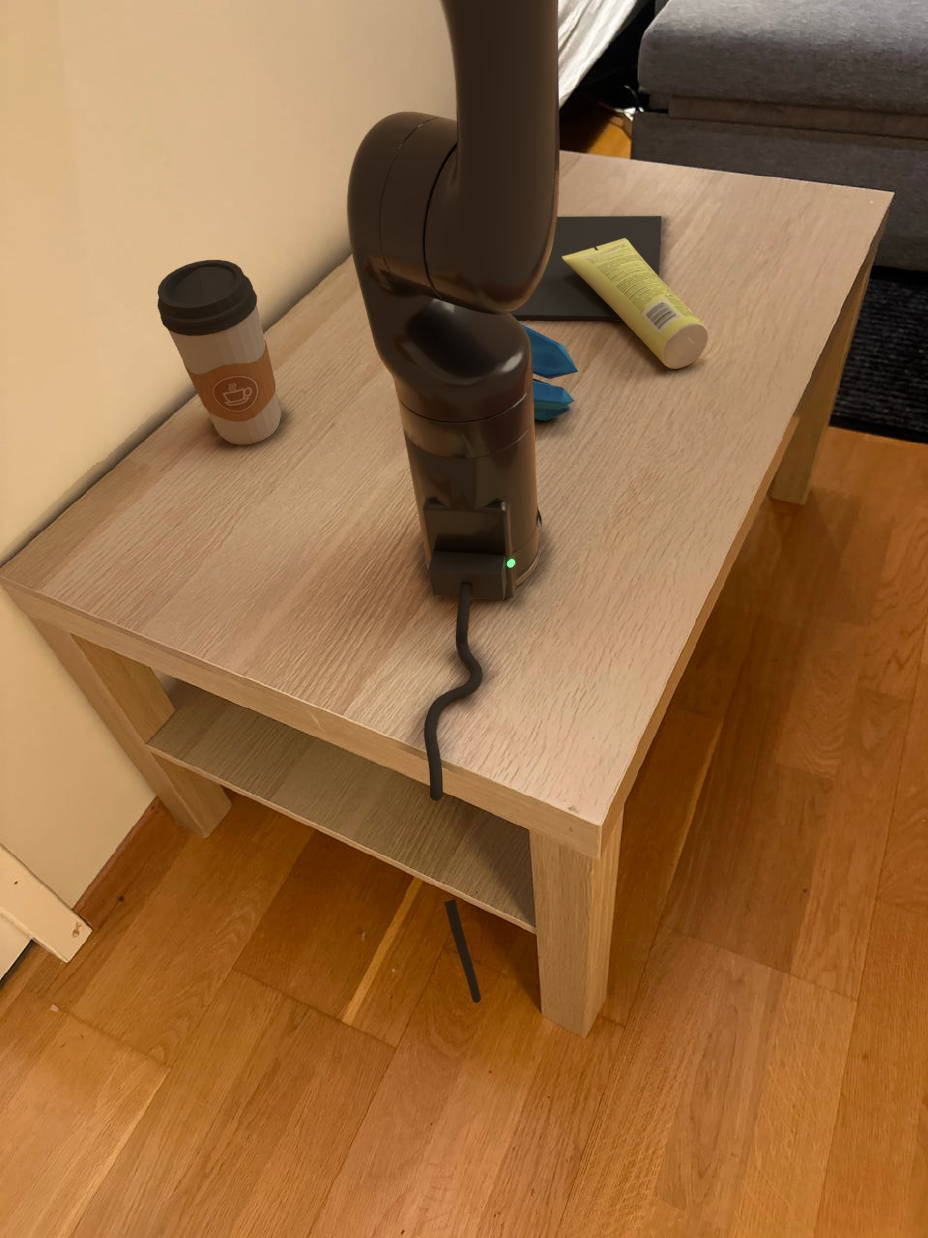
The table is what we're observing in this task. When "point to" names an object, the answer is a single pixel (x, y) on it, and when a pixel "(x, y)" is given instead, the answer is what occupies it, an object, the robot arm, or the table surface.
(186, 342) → the coffee cup
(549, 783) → the table surface
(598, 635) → the table surface
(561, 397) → the crystal
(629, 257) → the tube
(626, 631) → the table surface
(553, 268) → the mat
